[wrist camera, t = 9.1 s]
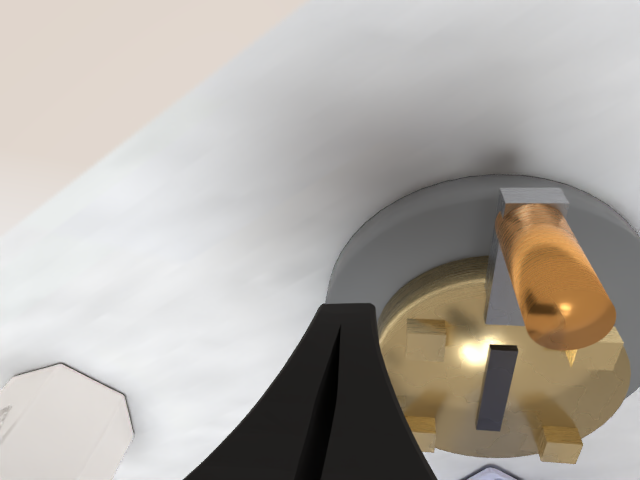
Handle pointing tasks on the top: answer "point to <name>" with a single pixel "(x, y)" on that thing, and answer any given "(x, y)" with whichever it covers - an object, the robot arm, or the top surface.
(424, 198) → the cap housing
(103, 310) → the top surface
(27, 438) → the jar
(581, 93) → the top surface
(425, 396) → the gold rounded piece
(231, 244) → the top surface
